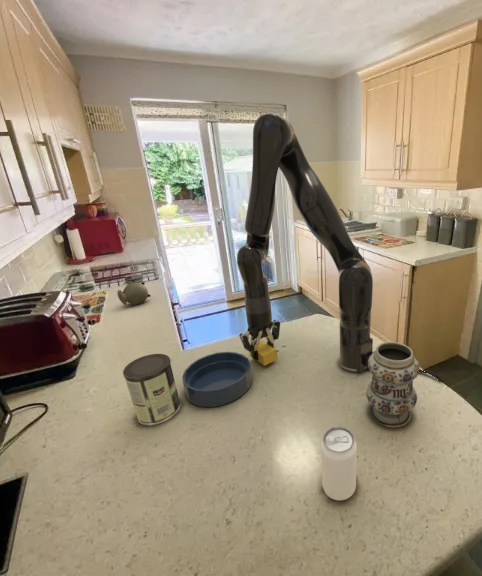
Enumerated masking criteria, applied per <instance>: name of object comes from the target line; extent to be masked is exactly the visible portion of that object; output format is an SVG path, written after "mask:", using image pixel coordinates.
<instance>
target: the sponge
mask: <svg viewBox="0 0 482 576" xmlns="http://www.w3.org/2000/svg"><path fill="white" fill-rule="evenodd" d="M257 350H258V359H259V360H257V361H256V362H258V363H259V364H261V365H263V367H265V366H267V365H269V364H270V363H272V362H275V361H277V360H278V353H277V349H276V348H275V347H274V348H273V347H271V346H270V345H268V344H267V342H264V341H263V340H260V343H259V344H258V348H257ZM249 356H250V357H251V358H252V355H251V352H249Z"/></svg>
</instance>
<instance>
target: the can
mask: <svg viewBox="0 0 482 576" xmlns="http://www.w3.org/2000/svg"><path fill="white" fill-rule="evenodd" d="M320 454H321V455H320V457H321V482H322V483H321V484H322V488H323V492H324V493H325V494H326V496H327V497H329V498H330V499H332V500H335V501H345V500H348V499H349V498H351V497H352V496H353V495H354V493H355V492H356V489H357V488H356V487H357V442H356V440H355V436H354V433H353V432H352V431H351V430H350V429H348V428H347V427H344V426H332V427H330V428H328V429H327V430H326V431H325V432H324V434H323V436H322V440H321V444H320Z"/></svg>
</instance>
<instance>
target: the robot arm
mask: <svg viewBox="0 0 482 576" xmlns="http://www.w3.org/2000/svg"><path fill="white" fill-rule="evenodd" d="M251 166H252V169H251V180H250V190H249V196H248V197H249V198H248V203H247V209H246V215H245V220H244V230H245V232H246V240H245V241H246V242H245V244H244V245H242V246H241V247H240V248H239V249H238V251H237V253H236V264H237V268H238V272H239V274H240V278H241V279H242V282H243V291H244V307H245V308H244V309H245V315H246V322H247V323H246V324H247V331H246V332H244V333H242V332H241V333H239V335H238V336H239V338H240V341H241V343H242V346H243V349H244V350H246V351H248V352H249V353H250V352H251V355H252V357H251V358H252V359H253V360H254V361H256V362H258V361H257V360H259V359H258V350H257V348H258V344H259V343H260V342H261V340H262V339H263V338H265V339H266V344H268V345H270V346H271V347H273V348H274V349H275V344H274V343H275V341H276V340H279V338H280V329H281V322H280V321H279V320H277V319H273V315H272V305H271V297H270V291H269V282H268V277H267V275H266V274H264V272H263V263H265V261H266V260H267V258H268V255H269V249H270V233H271V228H272V225H273V219H274V214H275V206H276V185H277V177H278V171H279V170H280V171H281V173H282V175H283V177H284V178H285V181H286V182H287V185H288V188H289V191H290V194H291V197H292V200H293V202H294V205H295V207H296V210H297V212H298V213H299V215H300V216H301V218H302V220H303V222H304V223H305V225H306V226H307V228H308V230H309V231H310V232H311V234H312V235H313V236H314V237H315V239H316V240H317V241H318V242H319V243H320V244H321V245H322V246H323V248H324V249H326V251H327V252H328V254H329V255H330V257H331V259H332V261H333V263H334V266H335V267H336V270H337V272H338V309H339V310H338V311H339V312H338V313H339V314H338V315H339V366H340V367H341V368H342V369H343V370H344V371H347V372H351V373H357V374H361V373H363V372H364V371H367V369H369V368H368V360H369V358H370V356H371V355H372V354H373V353H374V352H375V351H376V350H374V351H373V348H374V339H373V338H372V337H371V322H372V321H371V318H372V305H373V287H374V286H373V285H374V281H373V273H372V269H371V267H370V265H369V264H368V262H367V261H366V259H365V258H364V257H363V256H362V254H361V253H360V252H359V250H358V248H357V247H356V245H355V244H354V242H353V240H352V239H351V237H350V235H349V232H348V230H347V227H346V225H345V223H344V220H343V219H342V216H341V214H340V212H339V211H338V208H337V206H336V204H335V203H334V201H333V199H332V197H331V195H330V194H329V192H328V190H327V189H326V187H325V186H324V184H323V182H322V181H321V180H320V178H319V177H318V175H317V174H316V172H315V170H313V168H312V166H311V165H310V163H309V161H308V159H307V157H306V155H305V153H304V151H303V149H302V146H301V144H300V141H299V139H298V137H297V134H296V132H295V130H294V127H293V126H292V124H291V122H289V120H288V119H286V118H285V117H283V116H282V115H281V114H279V113H276V112H271V111H269V112H264V113H263V114H261V115H260V116H258V117H257V119H256V120H255V122H254V125H253V129H252V165H251ZM421 369H422V368H420V369H419V374H420V373H423V374H427V373H428V374H427V375H430V376H431V377H434V378H435V379H436V380H437V381H439V382H440V383H445V381H444V380H443V378H442V377H441V376H440V375H439V374H437V373H435V372H434V371H433V370H432V371H431V370H429V369H422V370H423V371H422V370H421ZM424 371H425V372H424Z"/></svg>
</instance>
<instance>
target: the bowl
mask: <svg viewBox="0 0 482 576" xmlns="http://www.w3.org/2000/svg"><path fill="white" fill-rule="evenodd" d="M181 378H182V385H183V389H184V393H185V397H186V399H187V400H188V401H189V402H190V403H191V404H193V405H195V406H198V407H205V408H206V407H207V408H209V407H210V408H211V407H218V406H223V405H225V404H229V403H232V402H233V401H235V400H237V399H239V398H240V397H242V396H243V395H244V394H245V393H246V392H248V390H249V388H250V387H251V385H252V383H253V372H252V366H251V362H250V359H249V357H247V356H245V354H242V353H239V352H236V351H235V352H234V351H220V352H214V353H210V354H207V355H205V356H202V357H200V358H198V359H196V360H194V361H193V362H192V363H190V364H189V365H188V366H187V368H185V369H184V372H183V374H182V376H181Z"/></svg>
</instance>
